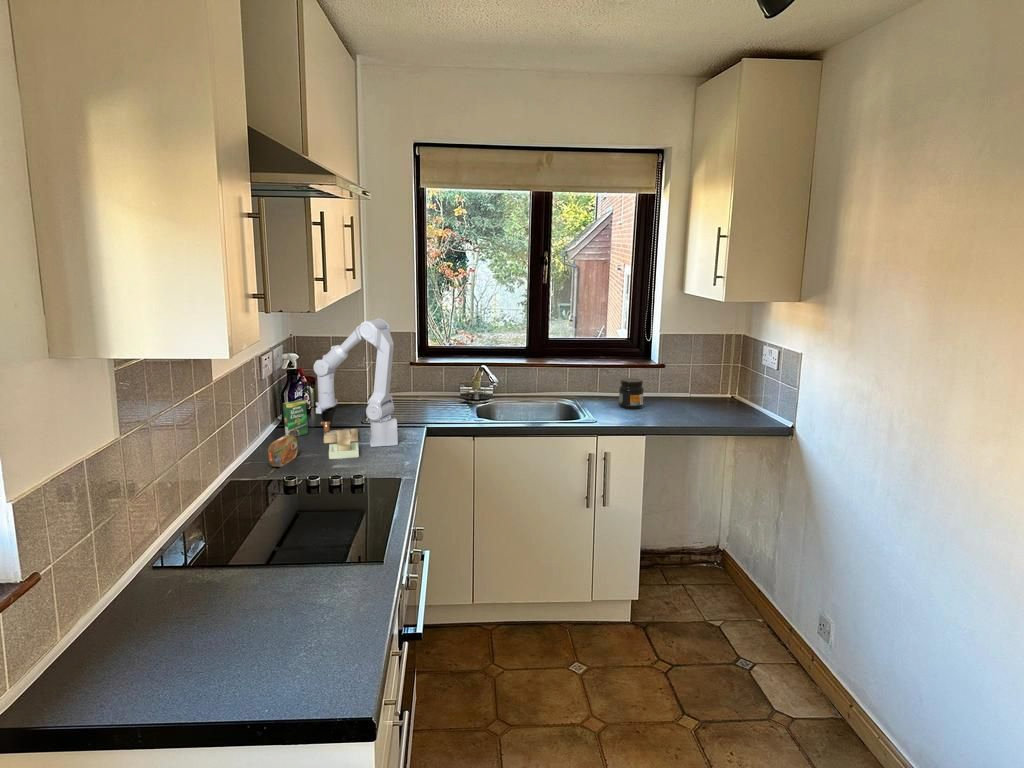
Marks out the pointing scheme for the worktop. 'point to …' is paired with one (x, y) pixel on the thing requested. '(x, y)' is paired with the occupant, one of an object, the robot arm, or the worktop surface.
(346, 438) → the block
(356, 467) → the worktop surface
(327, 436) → the crank base
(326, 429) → the crank
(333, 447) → the tray
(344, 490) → the worktop surface
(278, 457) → the tin
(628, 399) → the supplement container
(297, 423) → the green cardboard box
